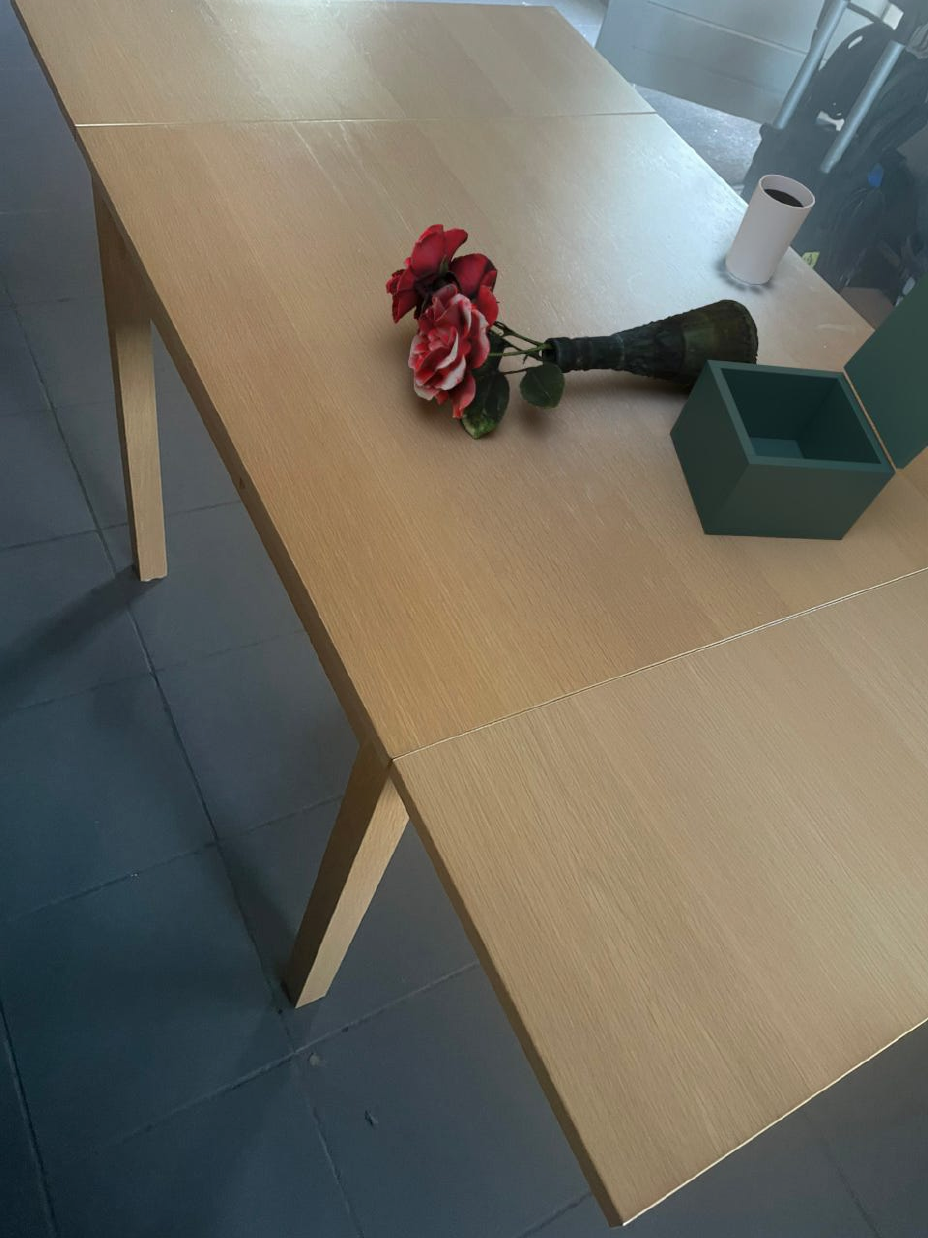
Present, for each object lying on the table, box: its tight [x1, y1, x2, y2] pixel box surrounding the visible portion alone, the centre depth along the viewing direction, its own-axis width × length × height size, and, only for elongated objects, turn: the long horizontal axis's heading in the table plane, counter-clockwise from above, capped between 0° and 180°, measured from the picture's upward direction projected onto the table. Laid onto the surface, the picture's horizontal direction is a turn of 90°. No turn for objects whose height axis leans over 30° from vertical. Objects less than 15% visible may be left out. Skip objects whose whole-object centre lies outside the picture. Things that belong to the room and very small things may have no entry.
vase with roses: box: [385, 223, 760, 439], centre depth 87 cm, size 16×18×35 cm
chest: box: [669, 360, 897, 541], centre depth 84 cm, size 14×13×9 cm
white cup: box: [724, 174, 816, 285], centre depth 107 cm, size 7×7×10 cm
